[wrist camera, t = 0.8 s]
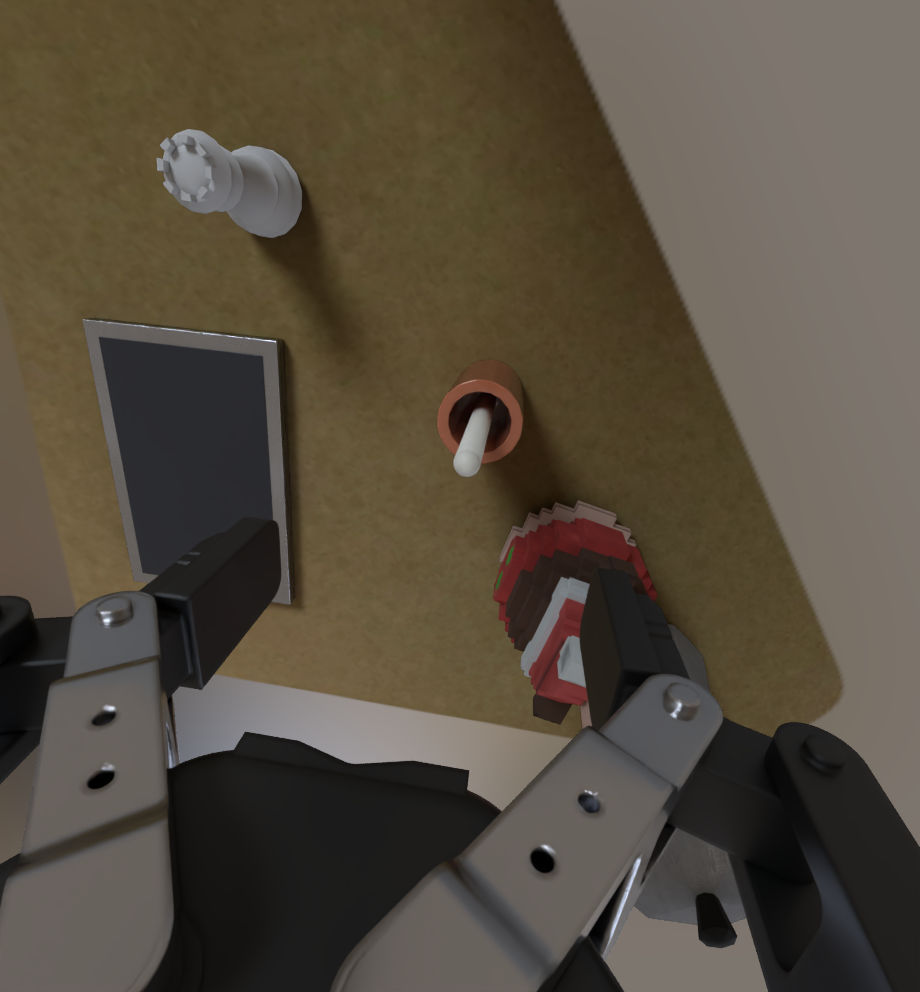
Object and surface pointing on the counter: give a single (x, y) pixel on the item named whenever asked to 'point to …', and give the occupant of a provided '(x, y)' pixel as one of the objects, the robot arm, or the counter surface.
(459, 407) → the pen cup
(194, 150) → the rook chess piece
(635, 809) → the robot arm
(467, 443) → the stylus
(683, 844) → the coffeepot
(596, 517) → the cake
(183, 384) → the tablet
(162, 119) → the counter surface
